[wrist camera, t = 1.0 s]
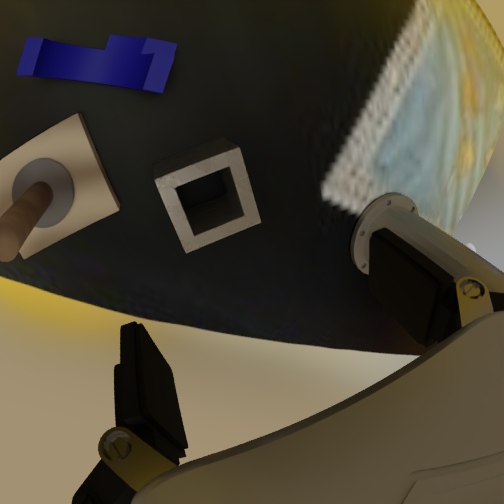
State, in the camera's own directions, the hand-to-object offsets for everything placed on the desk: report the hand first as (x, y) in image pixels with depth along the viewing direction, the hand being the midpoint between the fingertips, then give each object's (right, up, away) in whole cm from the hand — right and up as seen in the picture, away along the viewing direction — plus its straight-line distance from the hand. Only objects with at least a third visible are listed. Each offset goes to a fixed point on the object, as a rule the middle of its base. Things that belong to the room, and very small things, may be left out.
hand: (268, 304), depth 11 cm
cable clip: (-14, +19, +9) cm, 25 cm away
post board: (-20, +8, +13) cm, 25 cm away
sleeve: (-6, +9, +18) cm, 21 cm away
